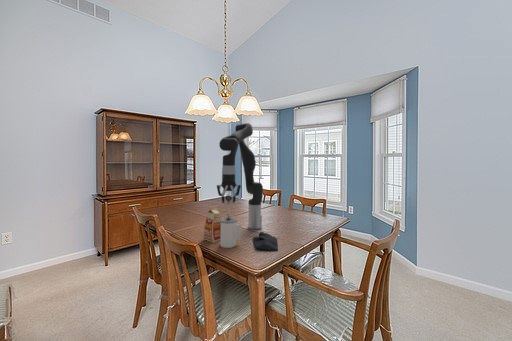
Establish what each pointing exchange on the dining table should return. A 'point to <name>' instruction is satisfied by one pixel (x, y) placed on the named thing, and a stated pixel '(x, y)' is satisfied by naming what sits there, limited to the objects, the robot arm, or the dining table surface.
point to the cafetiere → (229, 232)
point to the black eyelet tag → (266, 242)
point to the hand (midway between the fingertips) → (228, 202)
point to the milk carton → (212, 226)
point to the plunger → (228, 202)
